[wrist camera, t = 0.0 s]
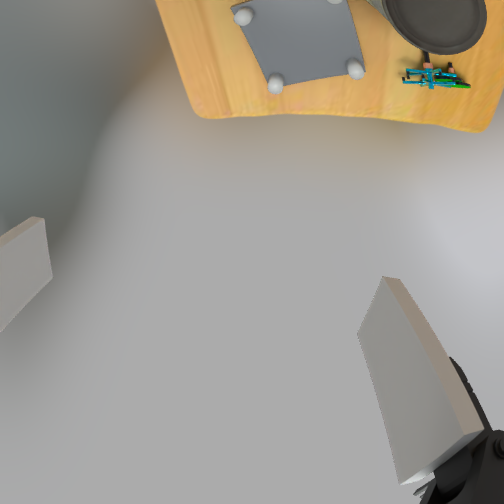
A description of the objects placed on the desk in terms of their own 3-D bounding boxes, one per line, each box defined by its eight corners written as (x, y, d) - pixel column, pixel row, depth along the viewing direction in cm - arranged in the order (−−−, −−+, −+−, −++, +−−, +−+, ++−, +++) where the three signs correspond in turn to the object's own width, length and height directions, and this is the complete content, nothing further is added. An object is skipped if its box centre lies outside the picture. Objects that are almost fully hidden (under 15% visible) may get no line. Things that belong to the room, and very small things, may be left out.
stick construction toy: (393, 88, 32) (426, 84, 25) (385, 43, 29) (416, 31, 22) (452, 94, 32) (485, 96, 25) (446, 54, 29) (478, 50, 22)
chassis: (232, 6, 27) (225, 13, 25) (338, -20, 21) (343, -17, 19) (271, 85, 38) (268, 99, 36) (364, 68, 32) (369, 81, 30)
